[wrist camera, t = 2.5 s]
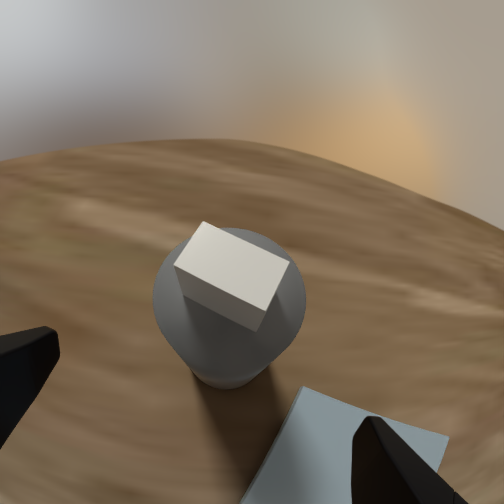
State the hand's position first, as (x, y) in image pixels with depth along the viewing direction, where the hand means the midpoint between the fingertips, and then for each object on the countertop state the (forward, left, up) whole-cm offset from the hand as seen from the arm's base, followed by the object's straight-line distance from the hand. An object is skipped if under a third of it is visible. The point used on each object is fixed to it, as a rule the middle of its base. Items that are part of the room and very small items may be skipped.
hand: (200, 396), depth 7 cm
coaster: (-3, -10, -10) cm, 15 cm away
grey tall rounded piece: (+3, +1, -10) cm, 11 cm away
